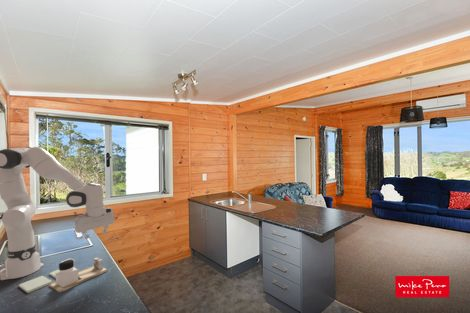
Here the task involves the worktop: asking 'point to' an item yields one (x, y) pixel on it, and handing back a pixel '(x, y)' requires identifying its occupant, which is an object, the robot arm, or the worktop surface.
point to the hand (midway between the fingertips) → (96, 235)
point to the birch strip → (83, 275)
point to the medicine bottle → (66, 273)
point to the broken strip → (38, 282)
